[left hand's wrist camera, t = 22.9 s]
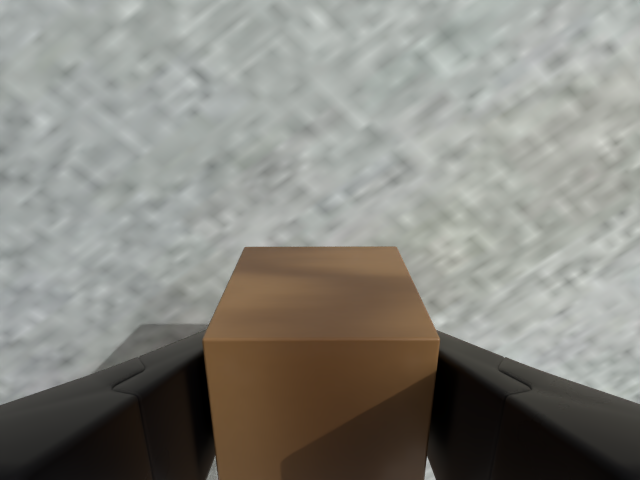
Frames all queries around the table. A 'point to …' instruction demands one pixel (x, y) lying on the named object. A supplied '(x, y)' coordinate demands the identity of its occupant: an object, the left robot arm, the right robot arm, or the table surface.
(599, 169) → the table surface
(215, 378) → the block
